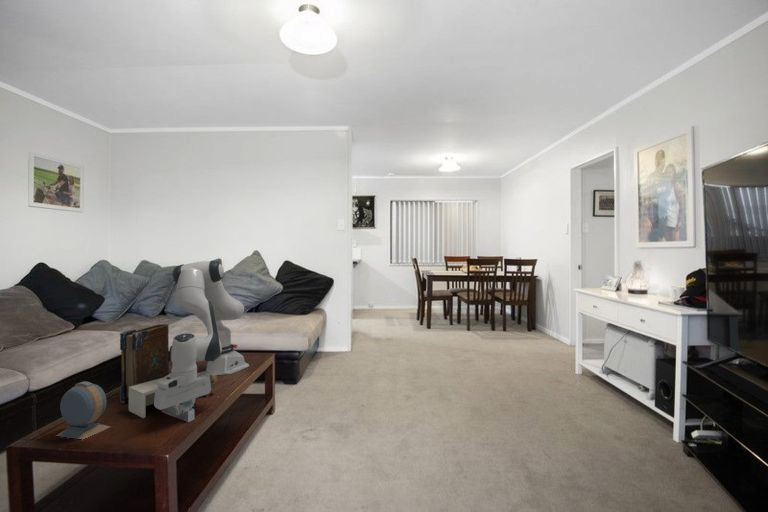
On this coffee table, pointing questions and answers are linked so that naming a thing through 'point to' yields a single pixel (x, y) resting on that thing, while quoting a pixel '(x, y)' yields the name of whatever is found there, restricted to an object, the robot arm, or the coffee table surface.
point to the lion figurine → (212, 382)
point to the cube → (186, 403)
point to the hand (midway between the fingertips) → (184, 412)
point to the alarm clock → (83, 410)
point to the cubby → (142, 397)
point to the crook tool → (186, 414)
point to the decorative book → (143, 356)
